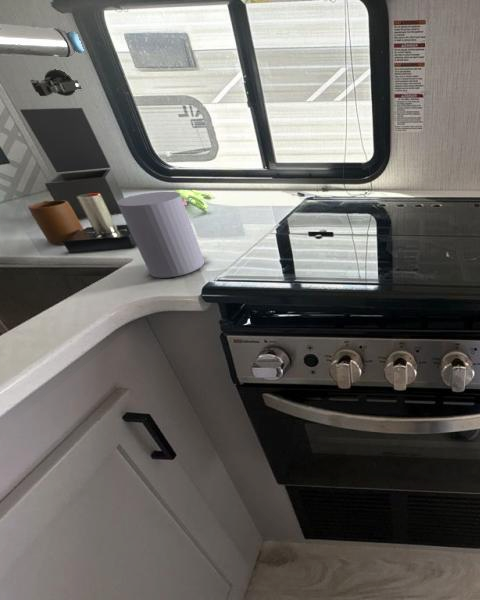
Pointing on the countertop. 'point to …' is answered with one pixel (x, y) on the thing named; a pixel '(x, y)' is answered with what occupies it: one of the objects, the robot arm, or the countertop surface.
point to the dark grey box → (86, 189)
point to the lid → (66, 138)
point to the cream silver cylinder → (97, 213)
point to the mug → (56, 220)
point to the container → (162, 233)
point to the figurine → (196, 196)
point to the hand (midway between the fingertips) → (40, 90)
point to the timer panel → (100, 240)
